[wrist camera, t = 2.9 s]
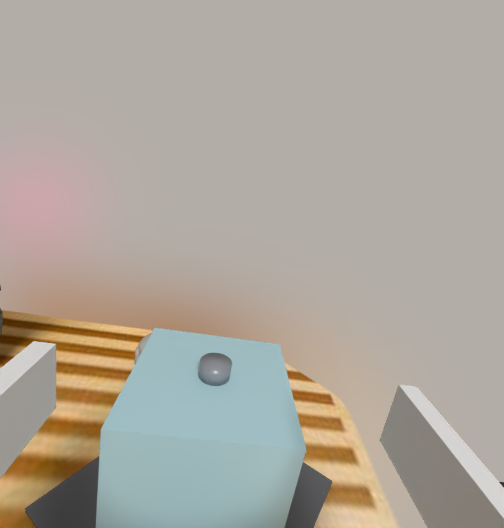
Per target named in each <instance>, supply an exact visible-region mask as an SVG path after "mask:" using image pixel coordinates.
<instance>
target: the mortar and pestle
mask: <svg viewBox="0 0 504 528" xmlns="http://www.w3.org/2000/svg"><path fill="white" fill-rule="evenodd" d="M0 290H1V287H0ZM2 325H3V317H2V311H1V309H0V336H1V331H2Z"/></svg>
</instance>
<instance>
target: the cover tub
mask: <svg viewBox="0 0 504 528" xmlns="http://www.w3.org/2000/svg"><path fill="white" fill-rule="evenodd" d="M305 453H306V446H305V442H304V439H303V435H302V431H301V427H300V423H299V419H298V415H297V411H296V407H295V403H294V399H293V395H292V391H291V387H290V383H289V379H288V375H287V371H286V367H285V363H284V359H283V356H282V352H281V348H280V345H279V344H273V343H266V342H258V341H251V340H243V339H236V338H227V337H221V336H213V335H206V334H198V333H190V332H183V331H175V330H168V329H160V328H154V330H153V332H152V334H151V336H150V338H149V340H148V342H147V343H146V345H145V347H144V349H143V351H142V353H141V355H140V357H139V359H138V360H137V362H136V364H135V366H134V368H133V370H132V372H131V374H130V375H129V377H128V379H127V381H126V383H125V385H124V387H123V389H122V390H121V392H120V394H119V396H118V398H117V400H116V402H115V404H114V405H113V407H112V409H111V411H110V413H109V415H108V417H107V419H106V420H105V422H104V424H103V426H102V428H101V437H100V456H99V474H98V493H97V512H96V528H285V524H286V521H287V517H288V513H289V510H290V506H291V503H292V499H293V496H294V492H295V488H296V485H297V481H298V478H299V474H300V471H301V467H302V464H303V460H304V456H305Z"/></svg>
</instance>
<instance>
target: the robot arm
mask: <svg viewBox="0 0 504 528" xmlns="http://www.w3.org/2000/svg"><path fill="white" fill-rule="evenodd" d="M55 408H56V344H52V343H44V342H35V341H34V342H32V343H31V344H30V345H29V346H27V347H26V348H25V349H24V350H22V351H21V352H20V353H19V354H18V355H16V356H15V357H14V358H13V359H11V360H10V361H9V362H8V363H6V364H5V365H4V366H3V367H2V368H0V478H1V477H2V476H3V474H4V473H5V472H6V471H7V469H8V468H9V467H10V466H11V464H12V463H13V462H14V460H15V459H16V458H17V457H18V455H19V454H20V453H21V451H22V450H23V449H24V448H25V446H26V445H27V444H28V443H29V441H30V440H31V439H32V437H33V436H34V435H35V434H36V432H37V431H38V430H39V429H40V427H41V426H42V425H43V423H44V422H45V421H46V420H47V418H48V417H49V416H50V414H51V413H52V412H53V411H54V409H55ZM380 441H381V443H382V445H383V447H384V449H385V450H386V452H387V454H388V456H389V458H390V460H391V461H392V463H393V465H394V467H395V468H396V470H397V472H398V474H399V476H400V478H401V480H402V482H403V483H404V485H405V487H406V489H407V491H408V492H409V494H410V496H411V498H412V499H413V502H414V503H415V505H416V507H417V509H418V511H419V513H420V514H421V516H422V518H423V520H424V522H425V524H426V525H427V527H428V528H504V482H498V481H497V479H496V478H495V477H494V476H493V475H492V474H491V472H490V471H489V470H488V469H487V468H486V467H485V465H483V463H482V462H481V461H480V460H479V458H478V457H477V456H476V455H475V454H474V453H473V452H472V450H471V449H470V448H469V447H468V446H467V445H466V443H465V442H464V441H463V440H462V439H461V438H460V436H459V435H458V434H457V433H456V432H455V431H454V430H453V428H452V427H451V426H450V425H449V424H448V423H447V421H446V420H445V419H444V418H443V417H442V416H441V414H440V413H439V412H438V411H437V410H436V409H435V407H434V406H433V405H432V404H431V403H430V402H429V400H428V399H427V398H426V397H425V396H424V395H423V394H422V392H421V391H420V390H419V389H418V388H417V387H415V386H407V385H398V388H397V391H396V394H395V397H394V400H393V403H392V406H391V409H390V412H389V414H388V418H387V420H386V423H385V426H384V429H383V432H382V435H381V438H380Z"/></svg>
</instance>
